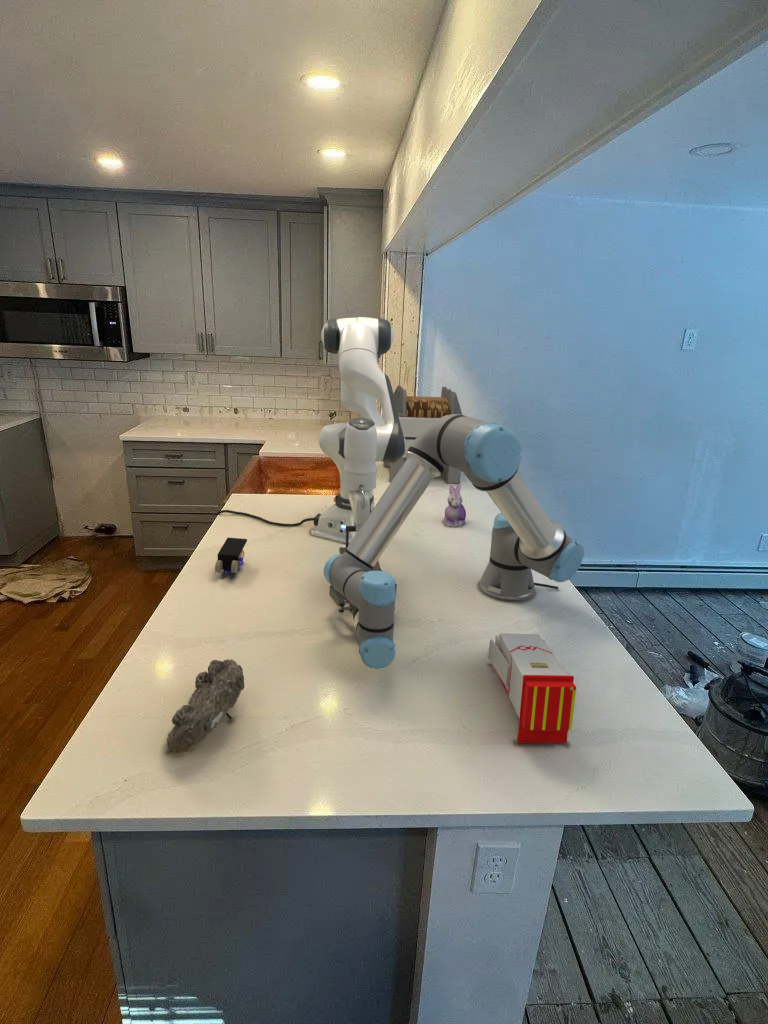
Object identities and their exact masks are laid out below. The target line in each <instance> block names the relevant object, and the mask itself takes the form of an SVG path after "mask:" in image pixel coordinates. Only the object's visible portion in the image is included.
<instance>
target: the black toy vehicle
mask: <svg viewBox="0 0 768 1024" xmlns="http://www.w3.org/2000/svg"><path fill="white" fill-rule="evenodd" d="M247 542H248V538H240V537H226V539H225V541H224V543H223V544H222V546H221V547H220V549H219V551H218V552H217V560H216V562H215V564H214V572H215V573H221V577H222V578H224V577H225V576H226V574H227V573H230V574H231V573H232V574H231V578H234V577H235V575H236V573H237V572H239V571H240V567H242V566H243V565H244V564H245V562H244V558H245V551H244V547H245V546H246V544H247Z"/></svg>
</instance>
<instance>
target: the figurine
mask: <svg viewBox="0 0 768 1024" xmlns="http://www.w3.org/2000/svg"><path fill="white" fill-rule="evenodd" d="M461 487H462V485H461V483H457V485H456V486H455V487H454V486H453V485H452V483H449V485H448V491H449V494H448V496H447V503H448V505H447V506H446V507H445V509H444V518H443V523H444V524H445V525H446V526H447V527H453V528H455V527H460V526H463V525H464V524H465V522H466V519H467V512H466V509H465V506H464V505H463V504H462V503H463V497H462V495H461Z"/></svg>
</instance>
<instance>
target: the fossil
mask: <svg viewBox="0 0 768 1024" xmlns="http://www.w3.org/2000/svg"><path fill="white" fill-rule="evenodd" d="M243 670H244V669H243V667H242V665H240V664H237V662H236V661H235V660H234V659H232V658H231V659H227V658H226V659H224V660H223V661H222V660H217V659H212V660H211V661H210V663H209V665H208V666H207V671H201V672H199V673H198V674H197V675H196V676H195V680H194V684H195V685H194V687H195V689H194V690H193V693H192V694H191V697H190V698H189V700H188V704H184V705H182V706H181V707H180V709H177V710H176V711H175V713H174V715H173V716H172V718H171V723H172V724H173V727H172V730H171V731H170V732H168V734H167V738H166V741H167V742H166V745H167V749H168V750H169V751H173V752H174V753H176V754H178V753H182V752H188V751H189V752H192V751H193V750H195V748H196V747H197V746H199V744H200V743H201V742H203V741H204V740H205V739H206V738H207V737H208V736H209V735H210V734H211V733H212V732H214V730H215V729H217V727H218V726H219V724H220V722H221V721H222V720H223V719H224V718H225V716H226V717H227V719H229V720H233V717H232V715H230V714H229V710H230V709H231V708H234V706H235V704H236V703H237V702H238V699H239V697H240V695H241V693H242V691H243V690H245V689H244V688H245V675H244V671H243Z"/></svg>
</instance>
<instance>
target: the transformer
mask: <svg viewBox="0 0 768 1024" xmlns="http://www.w3.org/2000/svg"><path fill="white" fill-rule="evenodd" d="M440 393H441V394H440V396H415V395H414V396H413V395H412V396H411V395H407V394H408V393H407V390H406V389H404V388H403V387H402V385H399V384H398V385H397V386H396V388H395V390H394V391H393V394H394V398H395V402H396V407H397V412H398V416H399V421H400V425H401V428H402V431H403V435H404V438H405V443H406V447H405V453H404V455H403V456H402V457H401V458H400V459H399V460H398V461H396V462H395V463H389V462H382V463H383V466H384V467H388V468H389V475H388V476H389V477H388V478H389V480H390V483H391V482H392V480H393V479H394V477H395V476H396V474H397V473H398V471H399V470H400V468H401V467H402V465H403V464H404V462H405V461H406V459H407V458H406V452H407V450H408V449H409V447H410V446H411V444H412V443H413V442H414V440H415V439H416V438H417V437H418V435H419V434H420V433H421V432H422V431H423V430H424V429H425V428H426V427H428V426H429V425H430V424H431V423H433V422H434V421H436V420H437V419H439V418H441V417H443V416H446V415H451V414H460V415H463V411H462V408H461V405H460V402H459V398H458V395H457V392H455V391H453V390H452V389H451V388H447V386H442V387H441V392H440ZM461 472H462V471H461V470H458V469H456V468H453V467H451V466H448V467H446V468H445V469H444V471H443V472H442V474H441V475H443V478H444V479H445V481H446V482H447V483H449V484H455V483H456V484H460V483H461Z"/></svg>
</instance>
